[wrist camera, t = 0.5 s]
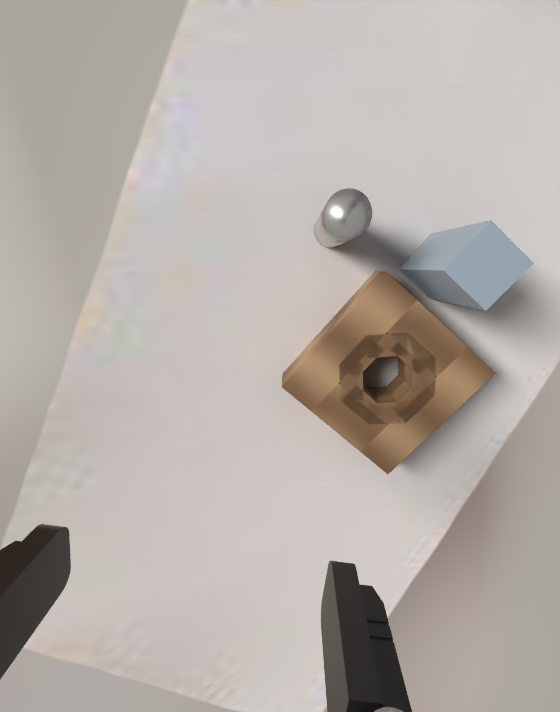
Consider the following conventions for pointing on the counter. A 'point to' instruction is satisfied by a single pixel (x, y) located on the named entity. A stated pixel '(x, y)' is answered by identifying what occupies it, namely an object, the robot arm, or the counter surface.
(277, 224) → the counter surface
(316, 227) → the round peg
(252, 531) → the counter surface
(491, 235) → the square peg
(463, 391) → the bore block
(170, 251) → the counter surface
